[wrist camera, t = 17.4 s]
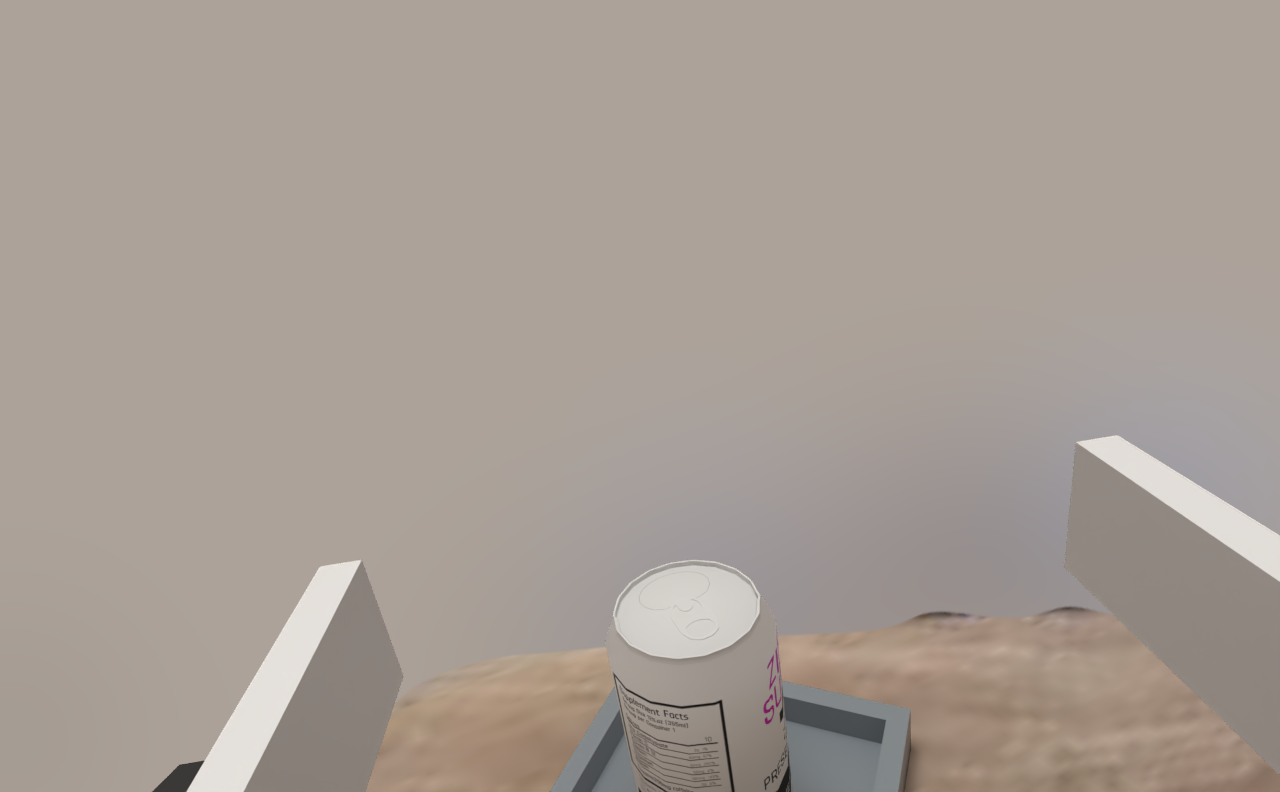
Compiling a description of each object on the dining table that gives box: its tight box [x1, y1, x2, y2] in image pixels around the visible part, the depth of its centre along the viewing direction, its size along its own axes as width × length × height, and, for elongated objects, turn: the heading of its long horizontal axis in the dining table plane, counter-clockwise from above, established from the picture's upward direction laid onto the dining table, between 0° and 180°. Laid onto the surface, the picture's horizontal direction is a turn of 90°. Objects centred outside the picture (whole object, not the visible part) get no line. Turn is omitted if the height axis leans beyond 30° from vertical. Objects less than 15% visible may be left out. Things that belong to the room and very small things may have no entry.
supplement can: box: [605, 560, 792, 792], centre depth 36 cm, size 8×8×15 cm
